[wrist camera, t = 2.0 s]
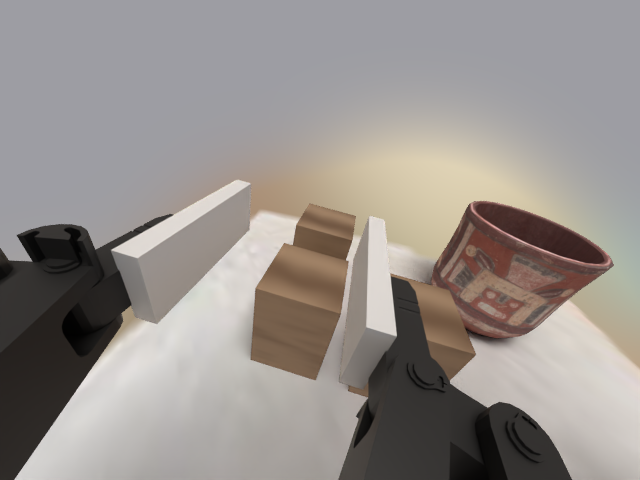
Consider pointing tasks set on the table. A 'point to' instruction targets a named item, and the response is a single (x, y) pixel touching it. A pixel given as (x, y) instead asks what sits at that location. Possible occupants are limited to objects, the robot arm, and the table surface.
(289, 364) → the brown wooden block
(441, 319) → the walnut block marked 2
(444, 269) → the pottery
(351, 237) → the walnut block marked 1
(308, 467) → the table surface
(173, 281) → the robot arm
